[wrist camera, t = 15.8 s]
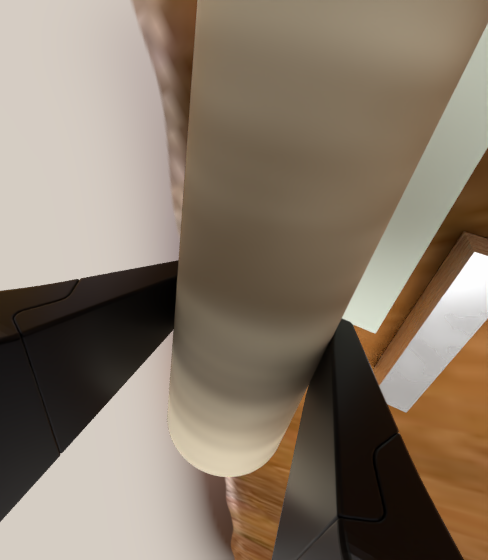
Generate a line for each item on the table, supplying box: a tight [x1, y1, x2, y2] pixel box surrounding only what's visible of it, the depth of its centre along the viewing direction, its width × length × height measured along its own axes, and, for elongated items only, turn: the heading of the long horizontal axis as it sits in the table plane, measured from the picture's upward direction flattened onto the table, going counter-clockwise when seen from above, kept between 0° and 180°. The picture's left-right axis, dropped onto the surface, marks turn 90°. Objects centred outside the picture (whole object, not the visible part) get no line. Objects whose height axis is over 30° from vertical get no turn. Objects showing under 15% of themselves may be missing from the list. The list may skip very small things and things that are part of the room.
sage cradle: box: [342, 24, 488, 334], centre depth 14 cm, size 10×14×2 cm
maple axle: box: [167, 0, 488, 477], centre depth 7 cm, size 12×4×4 cm, turn 168°
